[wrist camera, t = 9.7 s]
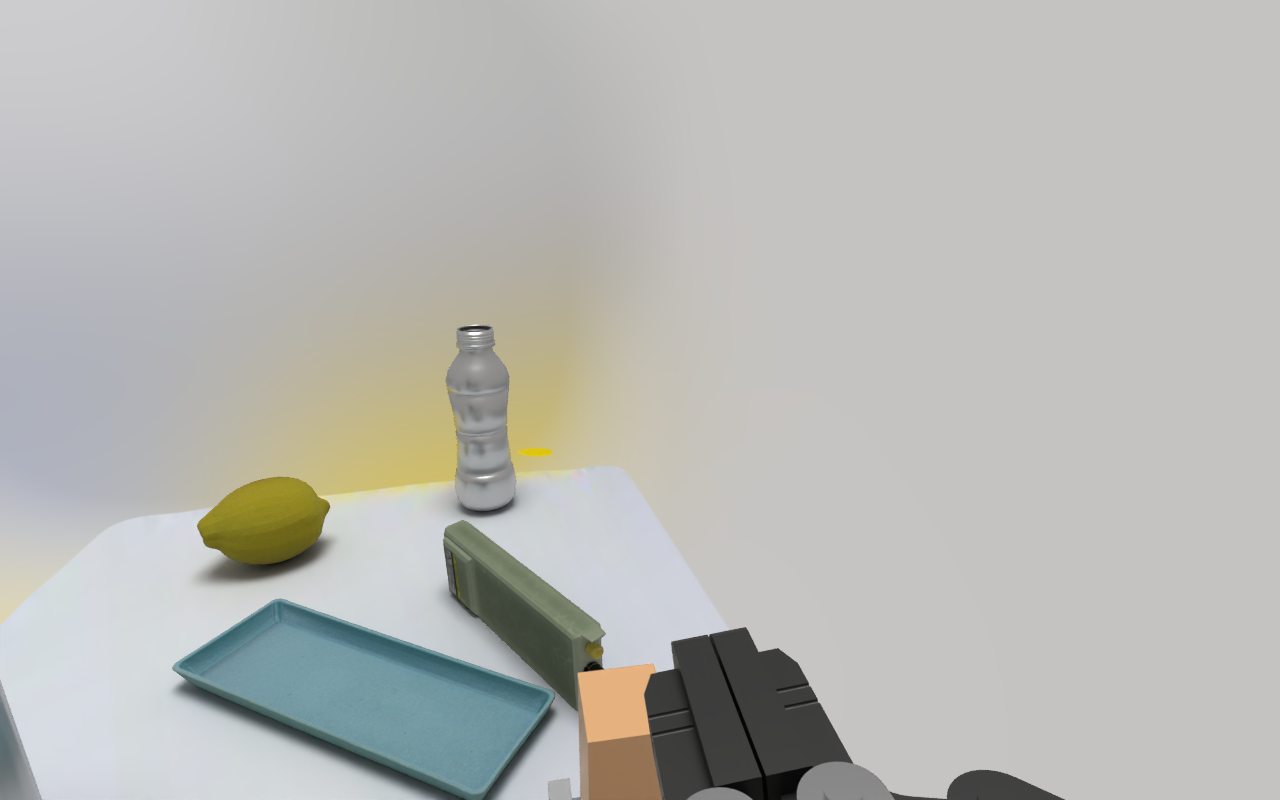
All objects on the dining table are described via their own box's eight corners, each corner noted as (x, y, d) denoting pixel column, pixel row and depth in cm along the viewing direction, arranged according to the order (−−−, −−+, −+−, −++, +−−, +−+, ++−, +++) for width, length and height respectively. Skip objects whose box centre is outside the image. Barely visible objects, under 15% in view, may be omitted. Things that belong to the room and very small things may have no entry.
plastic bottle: (529, 503, 77) (521, 327, 70) (479, 525, 72) (466, 339, 66) (493, 486, 81) (483, 319, 74) (444, 506, 76) (428, 328, 70)
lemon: (331, 527, 71) (320, 456, 69) (341, 563, 65) (329, 486, 62) (209, 553, 66) (193, 478, 64) (207, 595, 60) (189, 513, 57)
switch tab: (670, 905, 33) (675, 735, 30) (591, 920, 32) (588, 748, 29) (649, 814, 38) (652, 659, 34) (580, 825, 37) (576, 668, 34)
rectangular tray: (559, 714, 47) (558, 685, 47) (482, 825, 39) (479, 791, 39) (283, 621, 57) (278, 596, 56) (175, 695, 49) (168, 666, 48)
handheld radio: (479, 580, 63) (666, 744, 45) (446, 595, 61) (628, 773, 43) (471, 516, 60) (665, 661, 43) (436, 529, 58) (624, 687, 41)
